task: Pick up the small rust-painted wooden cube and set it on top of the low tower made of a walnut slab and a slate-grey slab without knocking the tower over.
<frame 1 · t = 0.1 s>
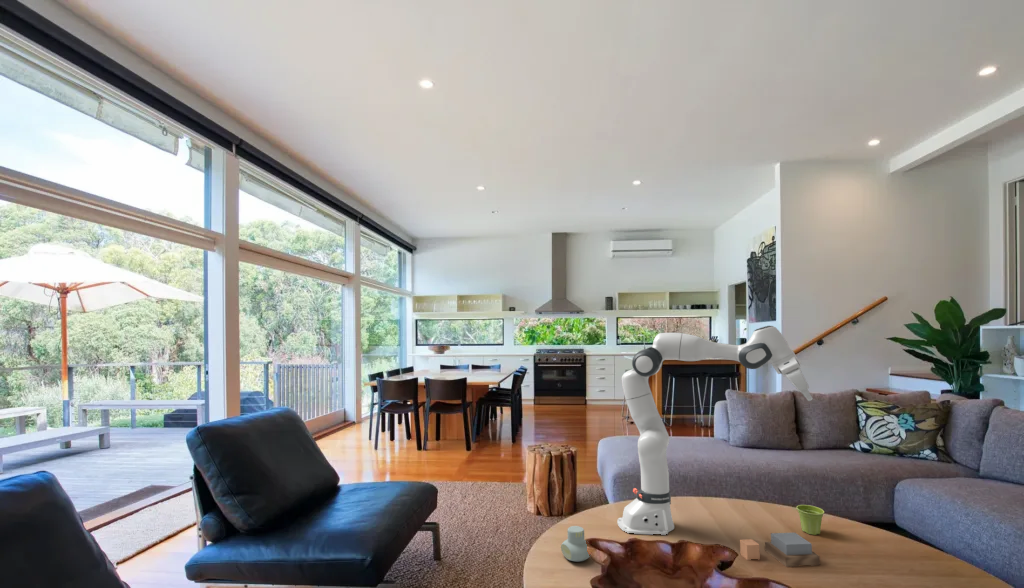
hand: (808, 398, 180), 54 cm above the table, tool tilted 30°, fingers open, 8 cm apart
plant pot: (811, 532, 192), on the table
upper tower block: (791, 548, 172), point 3 cm above the table, touching lower tower block
rust cube: (750, 556, 172), on the table
lower tower block: (791, 559, 172), on the table, touching upper tower block
air freshener: (576, 558, 173), on the table
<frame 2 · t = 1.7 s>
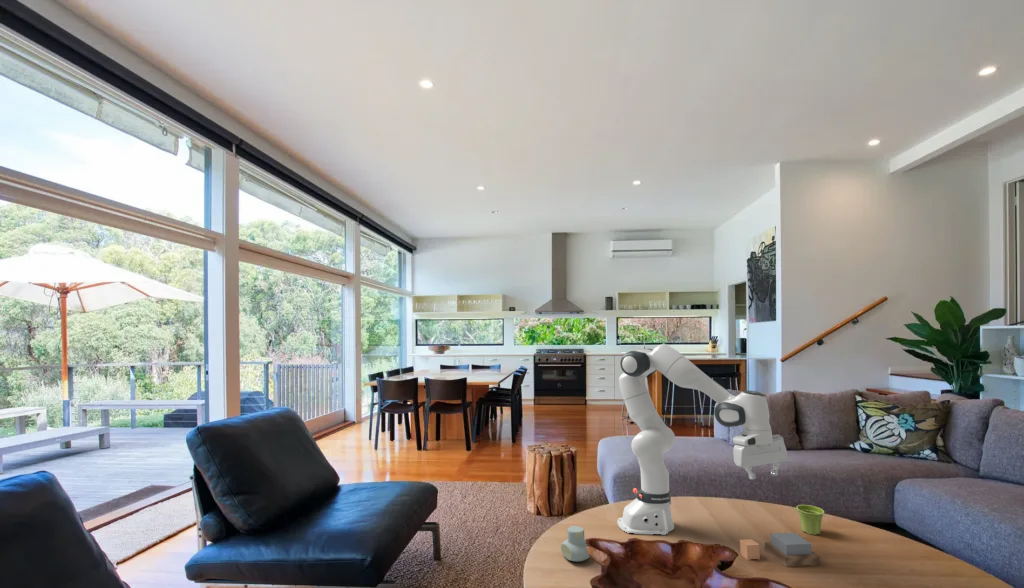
hand: (763, 477, 173), 28 cm above the table, tool pointing down, fingers open, 8 cm apart
nothing on the table moved.
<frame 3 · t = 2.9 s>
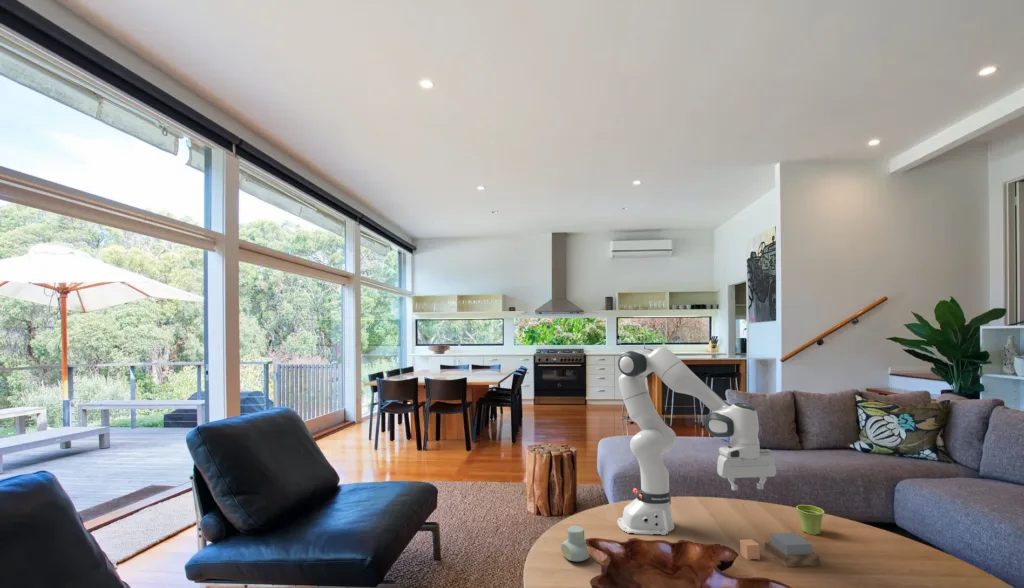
hand: (747, 489, 174), 23 cm above the table, tool pointing down, fingers open, 8 cm apart
nothing on the table moved.
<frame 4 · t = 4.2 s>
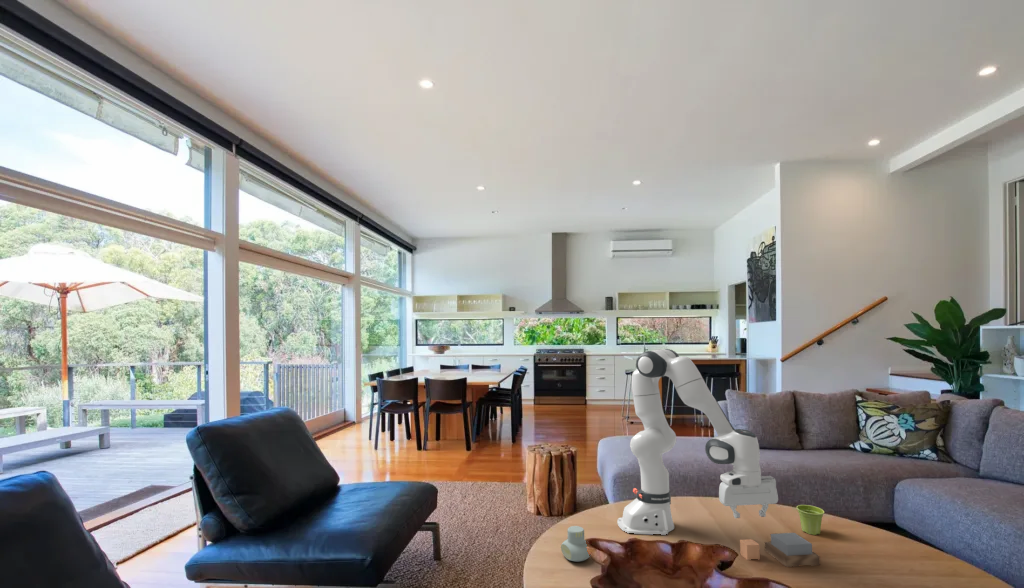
hand: (749, 516, 173), 14 cm above the table, tool pointing down, fingers open, 8 cm apart
nothing on the table moved.
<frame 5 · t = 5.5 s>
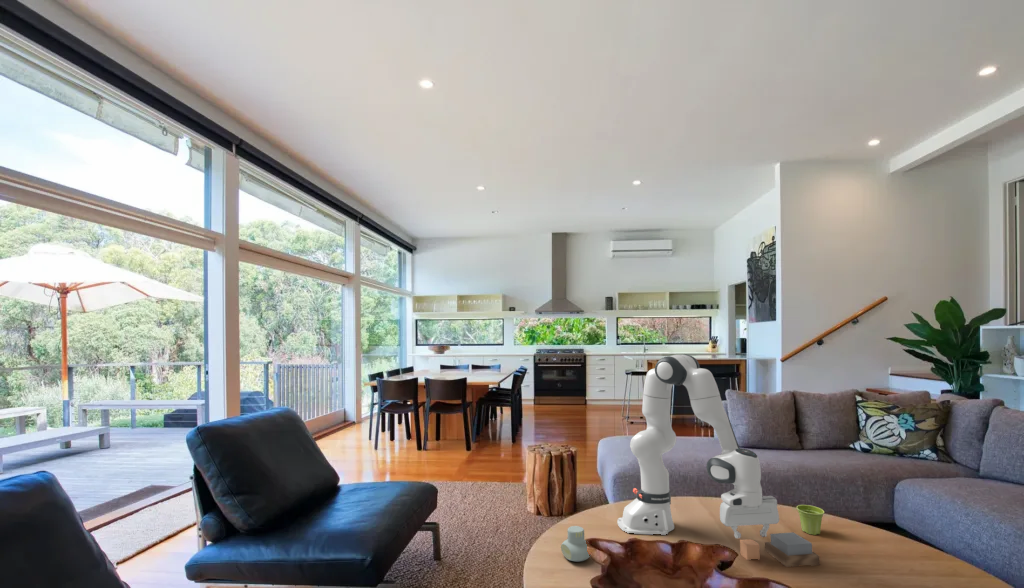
hand: (750, 537, 173), 7 cm above the table, tool pointing down, fingers open, 8 cm apart
nothing on the table moved.
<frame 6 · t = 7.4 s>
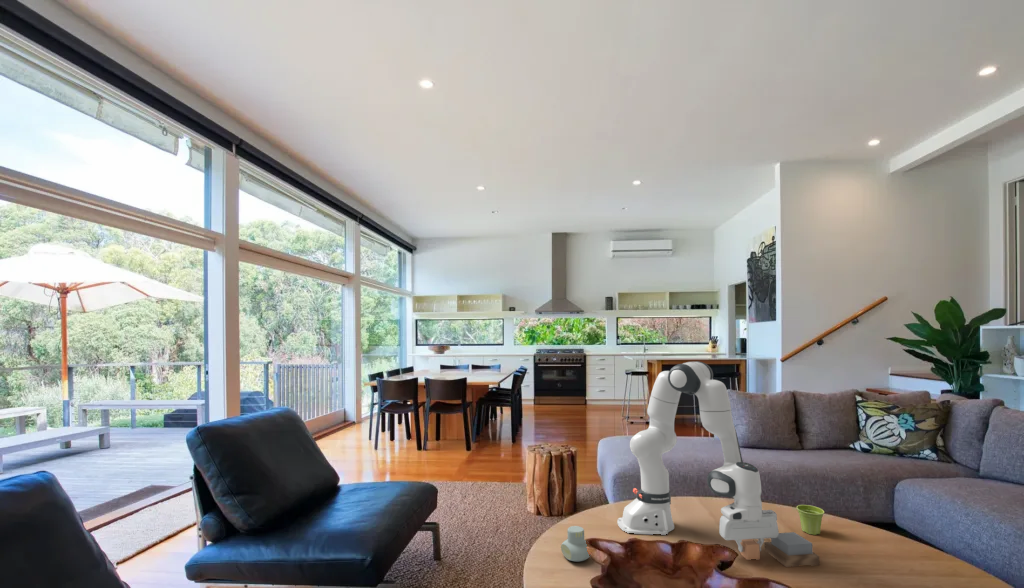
hand: (749, 550, 173), 2 cm above the table, tool pointing down, fingers closed on rust cube, 4 cm apart
rust cube: (750, 556, 172), on the table, touching gripper
everything else where it was.
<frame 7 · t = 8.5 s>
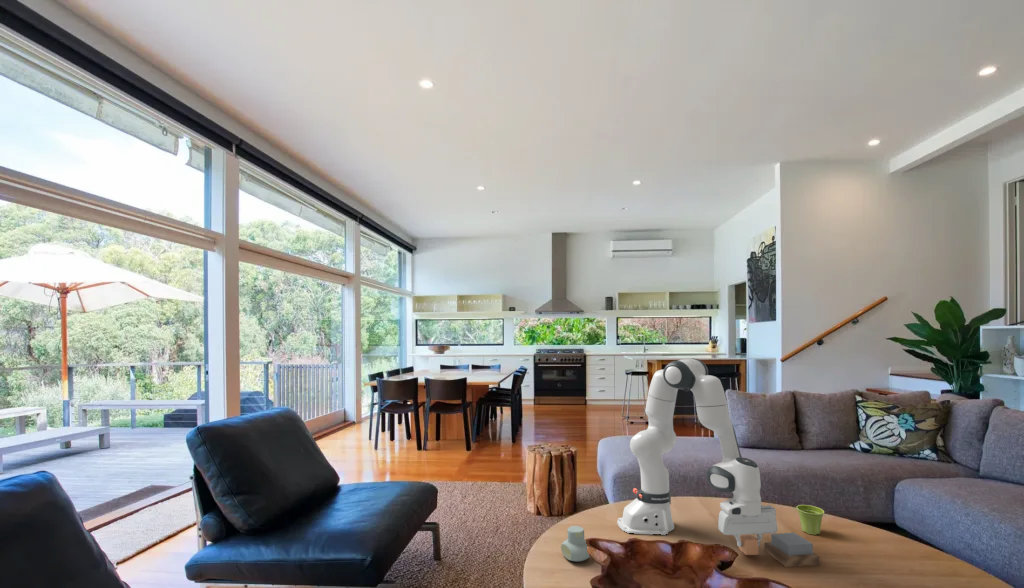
hand: (748, 545, 173), 3 cm above the table, tool pointing down, fingers closed on rust cube, 4 cm apart
upper tower block: (791, 549, 172), point 3 cm above the table
rust cube: (748, 551, 173), point 2 cm above the table, touching gripper
lower tower block: (791, 559, 171), on the table
everything else where it was.
when the fingers open (11 cm above the table, at t = 14.5 s): rust cube drops 2 cm, point 6 cm above the table.
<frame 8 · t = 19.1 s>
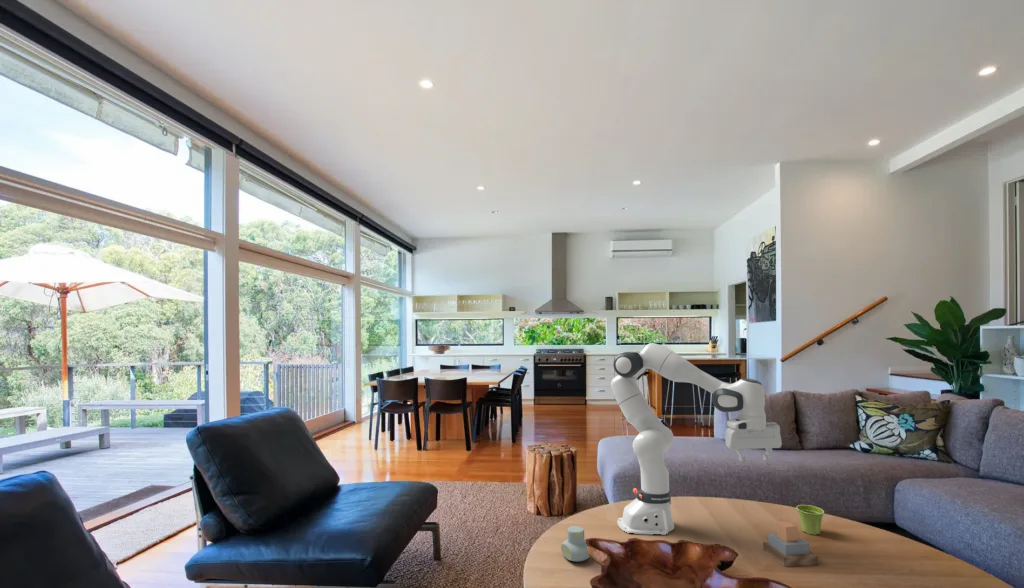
hand: (754, 460, 182), 31 cm above the table, tool pointing down, fingers open, 8 cm apart
upper tower block: (788, 548, 172), point 3 cm above the table, touching lower tower block
rust cube: (788, 538, 172), point 6 cm above the table
lower tower block: (789, 559, 172), on the table, touching upper tower block
everything else where it was.
at the end: rust cube 0.7 cm off-centre on the lower tower block, point 7.0 cm above the lower tower block's base; upper tower block moved 1.1 cm from its start; rust cube tilted 1° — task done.
